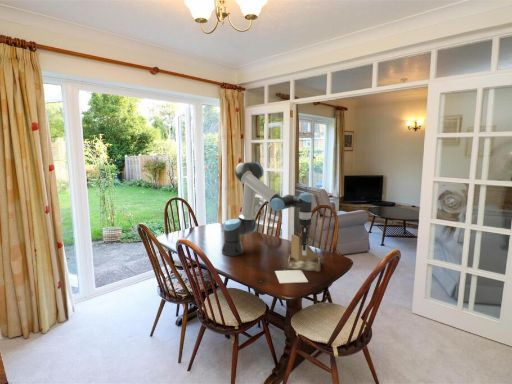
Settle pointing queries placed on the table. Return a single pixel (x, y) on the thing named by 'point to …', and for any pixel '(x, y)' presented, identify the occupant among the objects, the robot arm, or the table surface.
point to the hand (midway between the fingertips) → (304, 251)
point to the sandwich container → (300, 250)
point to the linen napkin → (291, 276)
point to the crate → (304, 264)
